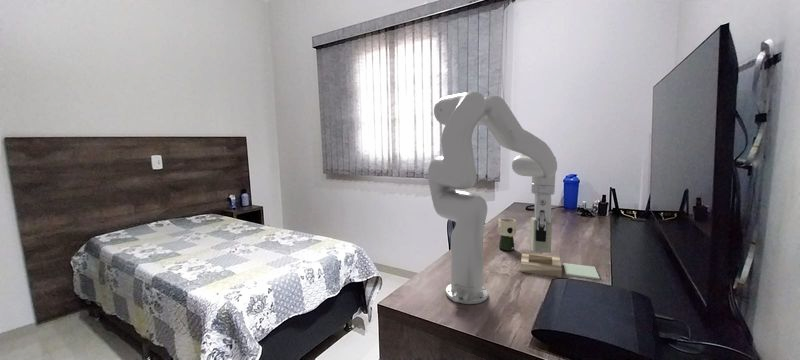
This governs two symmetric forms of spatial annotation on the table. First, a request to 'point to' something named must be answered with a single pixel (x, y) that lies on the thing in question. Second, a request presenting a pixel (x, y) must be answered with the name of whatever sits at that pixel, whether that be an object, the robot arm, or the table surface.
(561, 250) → the table surface
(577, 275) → the sage mat
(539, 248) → the skincare box
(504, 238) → the character mug
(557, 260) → the holder block
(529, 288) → the table surface
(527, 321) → the table surface
